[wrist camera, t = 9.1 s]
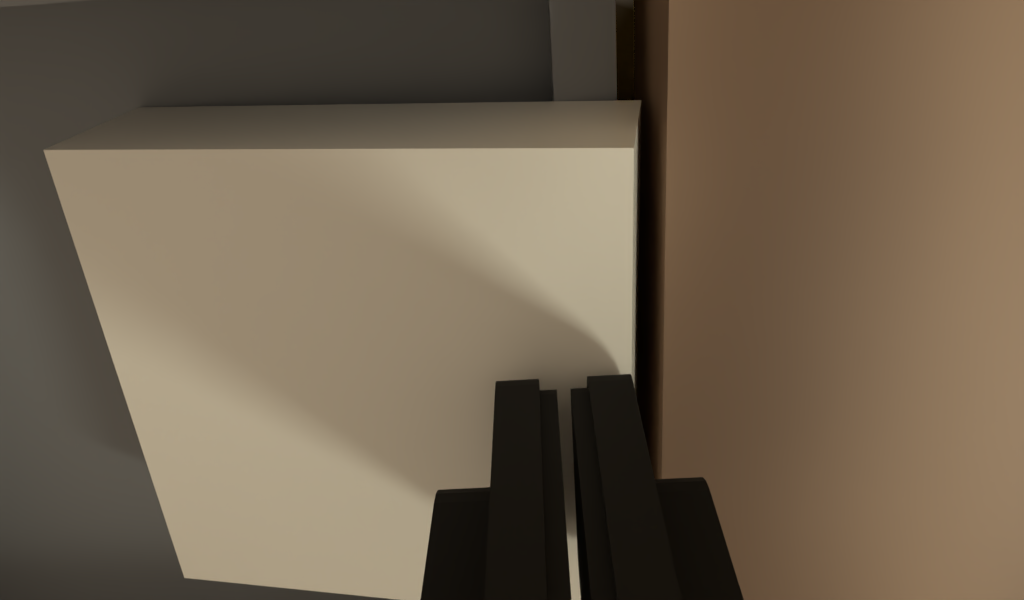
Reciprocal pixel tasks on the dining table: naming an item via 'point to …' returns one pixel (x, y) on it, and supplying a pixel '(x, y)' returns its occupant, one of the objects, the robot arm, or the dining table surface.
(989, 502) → the flat wooden board
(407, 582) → the tile
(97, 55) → the tray
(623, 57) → the dining table surface
